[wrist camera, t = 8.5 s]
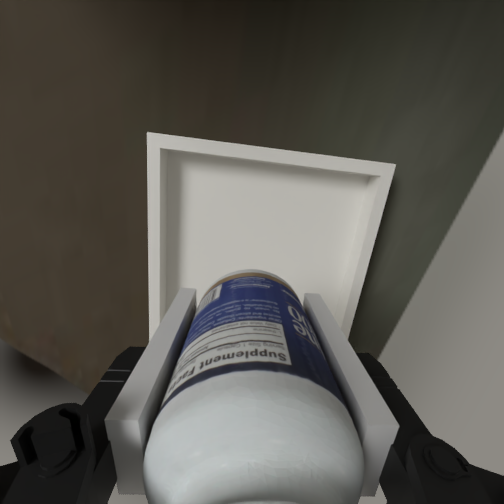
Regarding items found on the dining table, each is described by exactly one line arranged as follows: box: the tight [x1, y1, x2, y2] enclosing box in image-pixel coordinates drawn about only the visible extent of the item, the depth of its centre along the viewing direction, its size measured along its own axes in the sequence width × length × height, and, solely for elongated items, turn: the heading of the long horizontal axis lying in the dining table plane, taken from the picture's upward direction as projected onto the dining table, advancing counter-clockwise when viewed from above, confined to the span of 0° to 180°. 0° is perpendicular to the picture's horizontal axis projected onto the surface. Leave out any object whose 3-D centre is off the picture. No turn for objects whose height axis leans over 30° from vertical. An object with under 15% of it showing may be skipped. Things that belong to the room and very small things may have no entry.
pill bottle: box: [143, 269, 365, 504], centre depth 8 cm, size 5×5×10 cm
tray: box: [147, 132, 396, 342], centre depth 23 cm, size 20×20×2 cm
